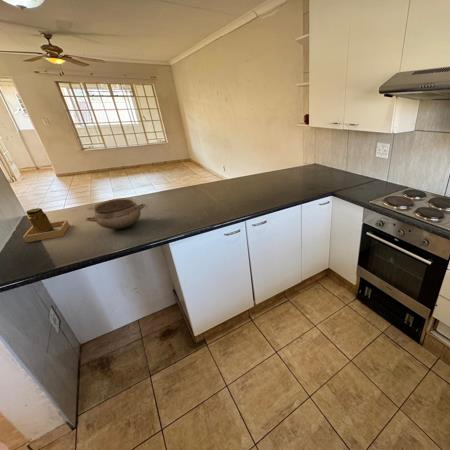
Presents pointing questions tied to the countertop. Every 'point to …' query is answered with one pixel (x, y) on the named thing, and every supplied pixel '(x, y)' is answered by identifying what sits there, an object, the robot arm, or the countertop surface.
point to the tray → (33, 236)
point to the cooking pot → (116, 213)
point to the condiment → (40, 221)
